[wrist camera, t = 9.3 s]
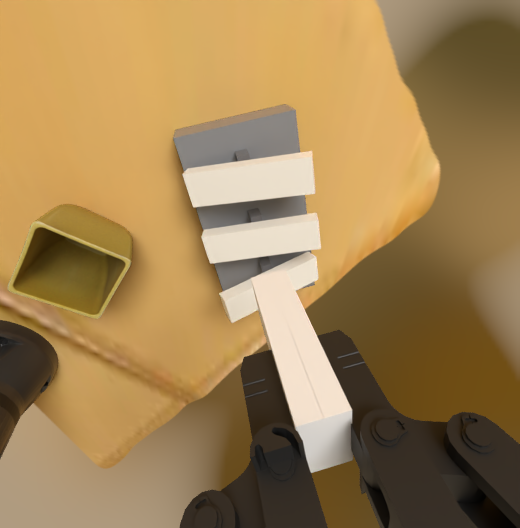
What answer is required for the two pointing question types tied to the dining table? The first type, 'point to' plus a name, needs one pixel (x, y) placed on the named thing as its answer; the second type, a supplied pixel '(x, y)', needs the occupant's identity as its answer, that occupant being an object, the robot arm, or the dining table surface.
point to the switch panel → (239, 149)
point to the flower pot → (73, 260)
